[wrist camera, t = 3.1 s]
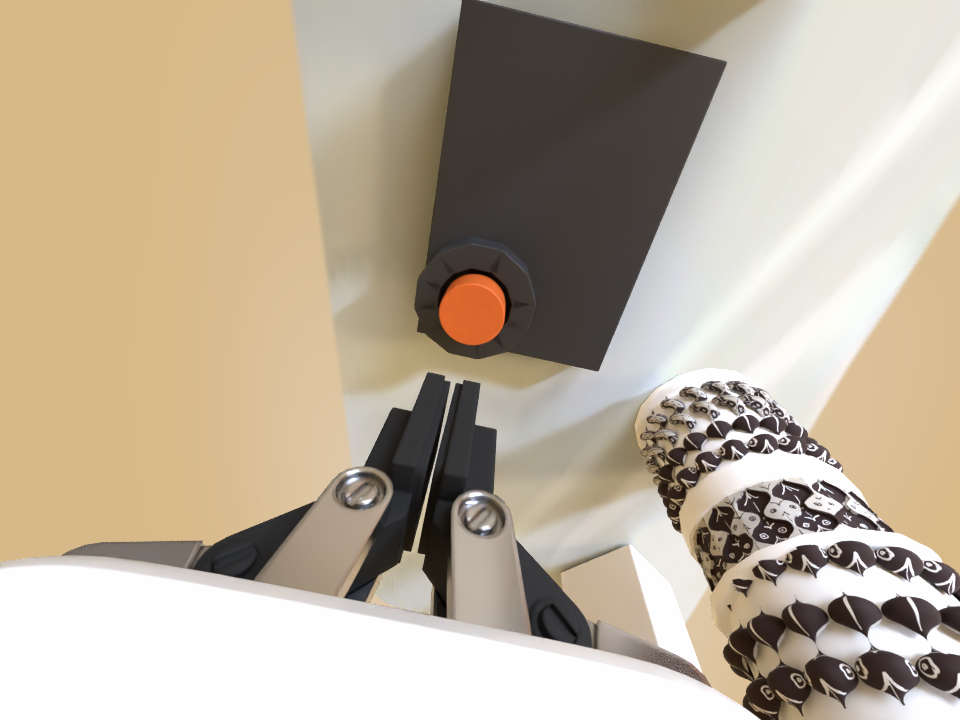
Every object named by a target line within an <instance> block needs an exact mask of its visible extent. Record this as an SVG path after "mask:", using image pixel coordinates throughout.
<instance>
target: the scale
mask: <svg viewBox="0 0 960 720" xmlns="http://www.w3.org/2000/svg"><path fill="white" fill-rule="evenodd" d="M726 64H727V62H726V61H722V60H718V59H714V58H710V57H706V56H702V55H698V54H694V53H690V52H686V51H682V50H678V49H674V48H670V47H666V46H662V45H658V44H654V43H649V42H645V41H641V40H637V39H633V38H629V37H625V36H621V35H617V34H613V33H609V32H605V31H601V30H597V29H593V28H589V27H585V26H581V25H577V24H572V23H568V22H564V21H560V20H556V19H552V18H548V17H544V16H540V15H536V14H532V13H528V12H524V11H520V10H516V9H512V8H508V7H504V6H499V5H495V4H491V3H487V2H483V1H479V0H462V4H461V12H460V19H459V26H458V34H457V41H456V48H455V56H454V63H453V70H452V78H451V85H450V92H449V100H448V107H447V114H446V122H445V129H444V137H443V144H442V151H441V159H440V166H439V173H438V181H437V188H436V195H435V203H434V210H433V217H432V225H431V232H430V239H429V247H428V254H427V261H426V268H425V269H424V270H423V271H422V273H421V274H420V275H419V278H418V282H417V289H416V297H415V305H414V306H415V310H416V313H417V315H418V317H419V320H418V328H417V332H420V333H425V334H426V335H427V336H428V337H429V338H431V339H432V340H433V341H434V342H436V343H437V344H438V345H439V346H441V347H442V348H443V349H444V350H446V351H447V352H448V353H451V354H456V355H460V356H465V357H469V358H474V359H481V358H485V357H489V356H493V355H497V354H501V353H505V352H511V353H516V354H521V355H525V356H530V357H534V358H539V359H543V360H548V361H553V362H557V363H562V364H566V365H571V366H575V367H580V368H585V369H589V370H594V371H599V369H600V366H601V364H602V361H603V359H604V357H605V354H606V352H607V349H608V347H609V345H610V342H611V340H612V337H613V335H614V333H615V330H616V328H617V325H618V323H619V321H620V318H621V316H622V313H623V311H624V309H625V306H626V304H627V302H628V299H629V297H630V294H631V292H632V290H633V287H634V285H635V282H636V280H637V278H638V275H639V273H640V270H641V268H642V266H643V263H644V261H645V258H646V256H647V254H648V251H649V249H650V246H651V244H652V242H653V239H654V237H655V234H656V232H657V230H658V227H659V225H660V222H661V220H662V218H663V215H664V213H665V210H666V208H667V206H668V203H669V201H670V198H671V196H672V194H673V191H674V189H675V186H676V184H677V182H678V179H679V177H680V175H681V172H682V170H683V167H684V165H685V163H686V160H687V158H688V155H689V153H690V151H691V148H692V146H693V143H694V141H695V139H696V136H697V134H698V131H699V129H700V127H701V124H702V122H703V119H704V117H705V115H706V112H707V110H708V107H709V105H710V103H711V100H712V98H713V95H714V93H715V91H716V88H717V86H718V83H719V81H720V79H721V76H722V74H723V71H724V69H725V67H726ZM466 274H481V275H485V276H487V277H489V278H491V279H493V280H494V281H495V282H496V283H497V284H498V285H499V286H500V288H501V289H502V291H503V293H504V296H505V303H506V304H505V320H504V324H503V327H502V329H501V331H500V332H499V333H498V335H497V336H496V337H494V338H493V339H492V340H490V341H488V342H486V343H483V344H480V345H467V344H463V343H460V342H458V341H456V340H454V339H453V338H451V337H450V336H449V335H448V334H447V333H446V332H445V330H444V329H443V327H442V325H441V322H440V318H439V307H440V304H441V301H442V299H443V297H444V295H445V293H446V291H447V289H448V287H449V286H450V284H451V283H452V282H453V281H454V280H456V279H457V278H459V277H460V276H463V275H466Z"/></svg>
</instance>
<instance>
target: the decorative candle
mask: <svg viewBox="0 0 960 720" xmlns="http://www.w3.org/2000/svg"><path fill="white" fill-rule="evenodd" d="M634 426H635V432H636V437H637V443H638V445H639V447H640V448H641V449H642V450H641V454H642V455H643V456H645V457H646V456H648V457H649V459H650V460H647V461H646V465H647V466H648V471H649V473H651V474H655V473H656V474H658V476H656V477H654V478H653V482H654V483H655V484H656V485H658V493H659V495H660V496H661V497H662V498H663V503H664V505H665V507H666V508H667V514H668V517H669V518H670V519H671V520H672V525H673V527H674V529H675V530H676V531H678V532H679V533H682V535H683V537H684V539H685V542H686V544H687V546H688V548H689V551H690V553H691V555H692V556H693V557H694V558H695V560H696V561H697V562H698V563H699V564H700V565H701V567H702V569H703V572H704V576H705V578H706V580H707V582H708V584H709V587H710V589H711V591H712V594H711V595H710V601H711V613H712V619H713V621H714V623H715V625H716V626H717V628H718V629H719V630H720V631H721V632H722V633H723V634H724V635H725V636H726V637H727V638H728V644H727V645H726V646H725V647H724V650H723V654H724V658H725V660H726V661H727V662H728V663H729V664H730V667H731V669H732V670H733V671H734V672H735V673H736V674H737V675H739V676H740V677H743V678H745V679H748V680H750V681H752V683H750V684H749V686H748V687H747V690H746V695H745V697H744V699H743V707H744V708H746V709H747V710H748V711H750V712H751V713H752V714H754V715H755V716H756V717H758V718H759V719H760V720H960V576H959V575H958V573H957V572H956V571H955V570H954V569H952V568H951V567H950V566H948V565H946V564H944V563H942V561H941V559H940V557H939V556H938V555H937V554H936V553H935V552H934V551H932V550H931V549H929V548H927V547H925V546H923V545H921V544H919V543H917V542H915V541H913V540H911V539H909V538H907V537H905V536H903V535H901V534H898V533H895V532H894V531H893V530H892V529H891V528H890V527H889V526H888V525H887V524H886V523H885V522H884V521H883V520H881V519H880V518H879V517H878V516H877V514H875V513H874V512H873V511H872V510H871V509H870V507H869V506H868V504H867V502H866V500H865V499H864V497H863V495H862V493H861V492H860V491H859V490H858V489H857V488H856V487H855V486H854V485H853V484H852V483H851V482H850V481H849V480H848V479H847V478H846V477H845V476H844V475H843V474H842V472H843V468H842V466H841V464H840V463H839V462H838V461H836V460H835V459H832V458H830V453H829V451H828V450H827V449H826V448H824V447H823V446H821V445H819V444H818V443H817V441H815V440H814V439H812V438H809V437H808V433H807V431H806V430H805V429H804V428H803V427H802V426H799V425H798V423H797V421H796V420H795V419H794V418H793V417H791V416H790V415H789V414H788V412H787V411H786V410H785V408H783V407H782V406H781V405H779V404H778V403H777V402H775V401H774V400H772V398H771V396H770V395H769V394H768V393H767V392H766V391H765V390H763V389H761V388H760V387H759V385H758V384H757V383H756V382H754V381H753V380H751V379H749V378H747V377H745V376H743V375H741V374H740V373H738V372H736V371H730V370H720V369H710V368H708V369H703V370H699V371H694V372H689V373H685V374H681V375H679V376H677V377H675V378H673V379H672V380H670V381H668V382H666V383H665V384H663V385H661V386H659V387H657V388H656V389H655V391H654V392H653V393H652V394H651V395H650V396H649V397H648V398H647V399H646V401H645V402H644V403H643V404H642V405H641V407H640V410H639V413H638V416H637V419H636V422H635V424H634Z"/></svg>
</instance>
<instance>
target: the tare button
mask: <svg viewBox="0 0 960 720" xmlns="http://www.w3.org/2000/svg"><path fill="white" fill-rule="evenodd" d="M505 304H506V303H505V296H504V293H503V291H502V289H501V288H500V286H499V285H498V284H497V283H496V282H495V281H494V280H493V279H491V278H489V277H487V276H485V275H481V274H466V275H463V276H460V277H459V278H457V279H456V280H454V281H453V282H452V283H451V284H450V286H449V287H448V289H447V291H446V293H445V295H444V297H443V299H442V301H441V304H440V307H439V318H440V322H441V325H442V327H443V329H444V330H445V332H446V333H447V334H448V335H449V336H450V337H451V338H453V339H454V340H456V341H458V342H460V343H463V344H467V345H480V344H483V343H486V342H488V341H490V340H492V339H493V338H494V337H496V336H497V335H498V333H499V332H500V331H501V329H502V327H503V324H504V320H505Z"/></svg>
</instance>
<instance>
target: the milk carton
mask: <svg viewBox="0 0 960 720" xmlns="http://www.w3.org/2000/svg"><path fill="white" fill-rule="evenodd" d="M561 582H562V590H563V591H564V592H565V594H566V595H567V596H568V597H569V598H570V599H571V600H572V601H573V602H574V603H575V604H576V606H577V607H578V608H579V609H580V611H581V612H582V614H583V615H584V616H585V618H586V619H587V620H589V621H591V622H593V623H595V624H596V622H597V620H601V621H603V622H605V623H607V624H610V625H612V626H614V627H616V628H619V629H621V630H623V631H625V632H627V633H630V634H632V635H634V636H636V637H639V638H641V639H643V640H645V641H647V642H650V643H652V644H654V645H656V646H659V647H661V648H663V649H665V650H668V651H670V652H672V653H674V654H676V655H679V656H681V657H683V658H684V659H686V660H687V661H689V662H690V663H692V664H693V665H694V666H695V667H696V668H697V669H698V670H699V671H700V672H701V673H702V671H701V669H700V666H699V663H698V660H697V658H696V655H695V652H694V649H693V646H692V644H691V641H690V638H689V635H688V633H687V630H686V627H685V624H684V621H683V619H682V616H681V613H680V610H679V608H678V605H677V602H676V599H675V596H674V594H673V591H672V588H671V586H670V584H669V583H668V582H667V581H666V580H665V579H664V578H663V577H662V576H661V575H660V574H659V573H658V572H657V571H656V570H655V569H654V568H653V567H652V566H651V565H650V564H649V563H648V562H647V561H646V560H645V559H644V558H643V557H642V556H641V555H640V554H639V553H638V552H637V551H636V550H635V549H634V548H633V547H632V546H631V545H626V546H624V547H621V548H619V549H617V550H614V551H612V552H609V553H607V554H604V555H602V556H600V557H597V558H595V559H592V560H590V561H587V562H585V563H583V564H580V565H578V566H575V567H573V568H571V569H568V570H566V571H564V572H561Z"/></svg>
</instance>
